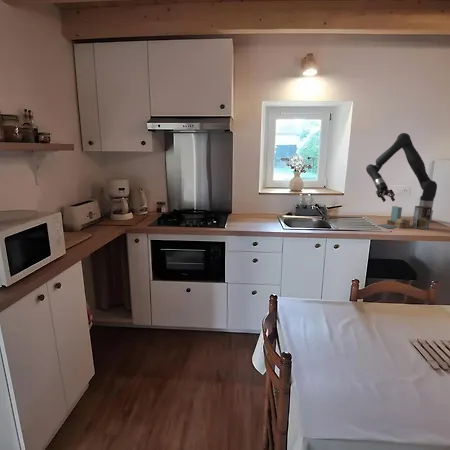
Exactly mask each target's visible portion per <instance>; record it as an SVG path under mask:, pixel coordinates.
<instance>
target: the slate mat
mask: <svg viewBox="0 0 450 450" xmlns="http://www.w3.org/2000/svg"><path fill="white" fill-rule="evenodd" d="M377 226H378V227H380V226H381V228H384V229H388V230H390V229H397V227H394V226H392V225H389V224H387V223H386V224H377Z"/></svg>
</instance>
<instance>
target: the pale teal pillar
mask: <svg viewBox="0 0 450 450" xmlns="http://www.w3.org/2000/svg"><path fill="white" fill-rule="evenodd" d="M391 207H392V208H391V213H390V219H389V220H390V221H394V222H395V221H397V219H402V212H403V211H402V210H403V207H401V206H397V205H394V206H391Z"/></svg>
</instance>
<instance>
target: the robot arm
mask: <svg viewBox="0 0 450 450" xmlns="http://www.w3.org/2000/svg"><path fill="white" fill-rule="evenodd" d="M401 149H402V150H403V152H404V154H405V155H404V156H405V157H406V161H407V163H408V164H409V167H410V169H411V170H412V172H413V174H414V175H415V177H416V178H417V180H418V183H419V186H420V188H421V190H422V194H421V196H420V198H419V205H418V206H429V207H431V208H432V209H431V216H430V222H432V220H433V212H434V210H433V208H434V206H433V205H434V201H435V198H436V194H437V188H438V184H437V182H436V181H435V180H432V179H431V178H430V177H429V175H428V173H427V170H426V165H425V163H424V160H423V158H422V157H421V155H420V154H419V152H418V150H417V149H416V148H415V146H414V144H413V141H412V138H411V136H410V134H409V133H405V132H402V133H400V134H399V135H398V136H397V137H396V140H395V141H394V142H393V144H392V145H391V146H390V147H389V148H388V149H386V150H385V151H384V152H383V153H381V155H380V156H379V157H378V158H376V159H375V164H376V165H375V164H373V163H372V164H371V163H369V164H367V166H366V169H365V170H366V172H367V174H368V175H369V177H370V178H371V179H372V181H373V184H374V187H375V188H376V191H375V194H376V196H377V197H378V198H379V199H381V200H382V202H383V203H384V202H386V201H387V199H386V198H385V196H387V197H389V198H390V200H391V201H392V202H394V201H396V198H395V196H396V195H395V193H394V191H393V189H392V188H390V189H389V188H388V185H387V183H386V181H385V180H384V179H383V177H382V174H381V173H379V172H380V170H381V169H382V167H383V166H384V165H385V164H386V163H387V162H388V161H389V160H390V159H392V157H393V156H394V155H395V154H396V153H397V152H399V151H400V150H401Z"/></svg>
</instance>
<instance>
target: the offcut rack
mask: <svg viewBox="0 0 450 450" xmlns="http://www.w3.org/2000/svg"><path fill="white" fill-rule="evenodd" d="M390 220H391V219H387V222H386V224H387V225H390V226H394V227H396V229H397V228H398V229H402V228H403V229H405V228H406V229H407V228H411V224H410V222H411V219H410V218H404V217H403V218H402V217H401V219H397V221H395V222H394V221H390Z"/></svg>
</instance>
